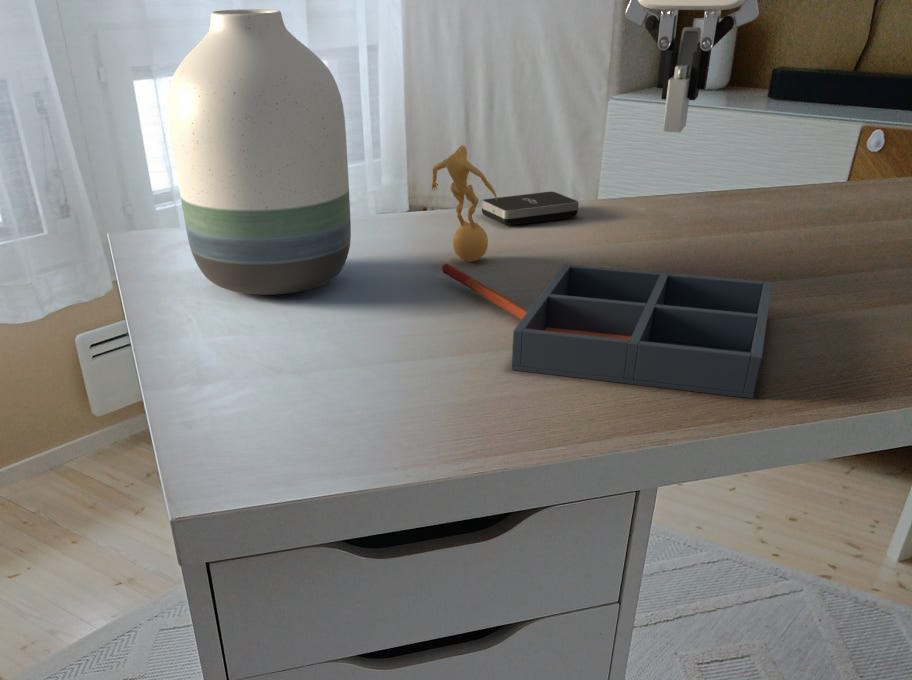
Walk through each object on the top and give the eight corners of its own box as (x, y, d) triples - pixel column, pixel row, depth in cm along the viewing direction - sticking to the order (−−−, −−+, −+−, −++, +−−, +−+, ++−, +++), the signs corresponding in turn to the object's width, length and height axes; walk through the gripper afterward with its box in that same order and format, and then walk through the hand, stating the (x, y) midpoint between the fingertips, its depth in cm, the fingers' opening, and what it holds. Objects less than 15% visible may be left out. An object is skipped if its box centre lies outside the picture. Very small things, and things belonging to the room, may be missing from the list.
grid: (764, 318, 88) (772, 282, 86) (752, 398, 73) (762, 357, 71) (561, 298, 93) (563, 263, 91) (511, 370, 78) (513, 330, 76)
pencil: (439, 266, 97) (446, 260, 97) (443, 274, 98) (450, 269, 98) (540, 326, 84) (548, 319, 84) (544, 335, 85) (552, 328, 85)
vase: (322, 252, 107) (303, 3, 92) (378, 293, 95) (366, 13, 80) (178, 271, 101) (133, 9, 87) (219, 317, 89) (174, 21, 74)
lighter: (680, 132, 88) (693, 32, 83) (662, 131, 88) (674, 32, 83) (689, 120, 93) (702, 26, 88) (672, 119, 94) (684, 26, 89)
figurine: (510, 262, 103) (515, 143, 96) (481, 275, 99) (484, 153, 92) (449, 251, 107) (450, 135, 100) (419, 263, 103) (417, 144, 96)
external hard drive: (579, 218, 118) (580, 202, 117) (504, 228, 115) (504, 211, 114) (551, 207, 123) (552, 191, 122) (478, 216, 120) (479, 199, 119)
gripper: (811, -152, 79) (766, 95, 90) (627, -145, 83) (607, 90, 94) (808, -158, 73) (761, 106, 84) (612, -150, 77) (591, 100, 89)
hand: (680, 96), depth 89 cm, fingers closed on lighter, 1 cm apart
